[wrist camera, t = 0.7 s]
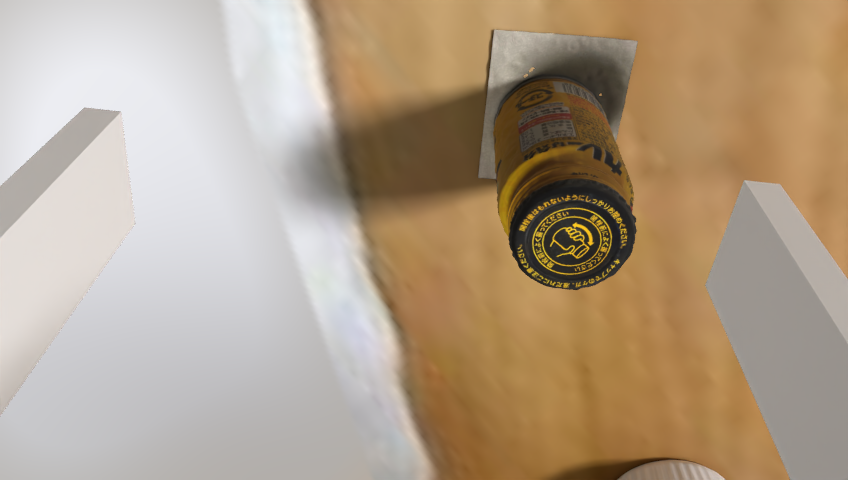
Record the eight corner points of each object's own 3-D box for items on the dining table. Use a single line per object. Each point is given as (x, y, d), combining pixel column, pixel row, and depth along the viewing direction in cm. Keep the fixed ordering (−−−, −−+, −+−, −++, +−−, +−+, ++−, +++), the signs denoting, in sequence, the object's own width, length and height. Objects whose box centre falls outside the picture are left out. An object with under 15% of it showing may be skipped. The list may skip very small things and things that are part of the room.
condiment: (478, 176, 44) (482, 302, 33) (494, 28, 39) (504, 122, 29) (605, 185, 44) (649, 314, 33) (636, 38, 39) (697, 136, 29)
